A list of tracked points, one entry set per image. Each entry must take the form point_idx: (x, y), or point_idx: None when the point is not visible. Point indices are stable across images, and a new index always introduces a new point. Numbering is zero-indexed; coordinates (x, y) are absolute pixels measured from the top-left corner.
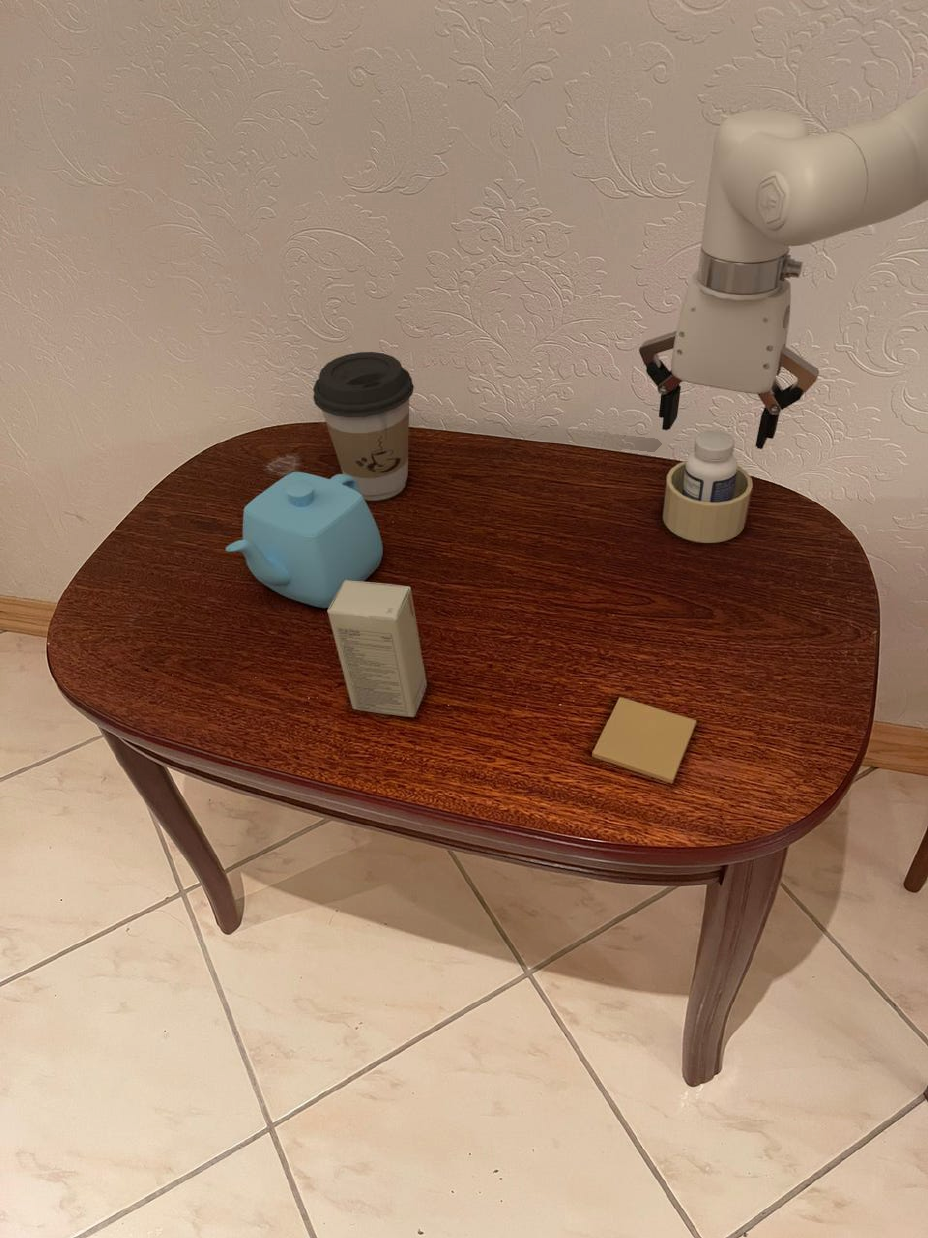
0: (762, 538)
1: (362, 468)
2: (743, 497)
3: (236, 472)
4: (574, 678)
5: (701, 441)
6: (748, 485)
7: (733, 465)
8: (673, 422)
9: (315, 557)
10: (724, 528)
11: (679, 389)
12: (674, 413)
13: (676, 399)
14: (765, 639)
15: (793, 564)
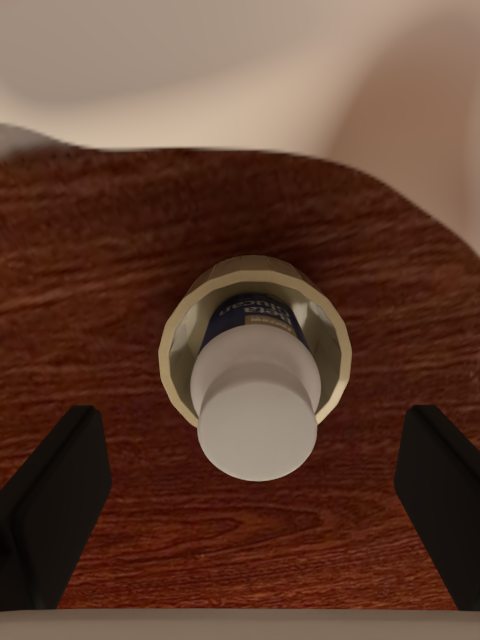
0: (362, 347)
1: None
2: (339, 399)
3: None
4: None
5: (220, 453)
6: (342, 352)
7: (314, 406)
8: (105, 445)
9: None
10: None
11: (33, 525)
12: (89, 474)
13: (59, 522)
14: (390, 535)
15: (417, 392)
